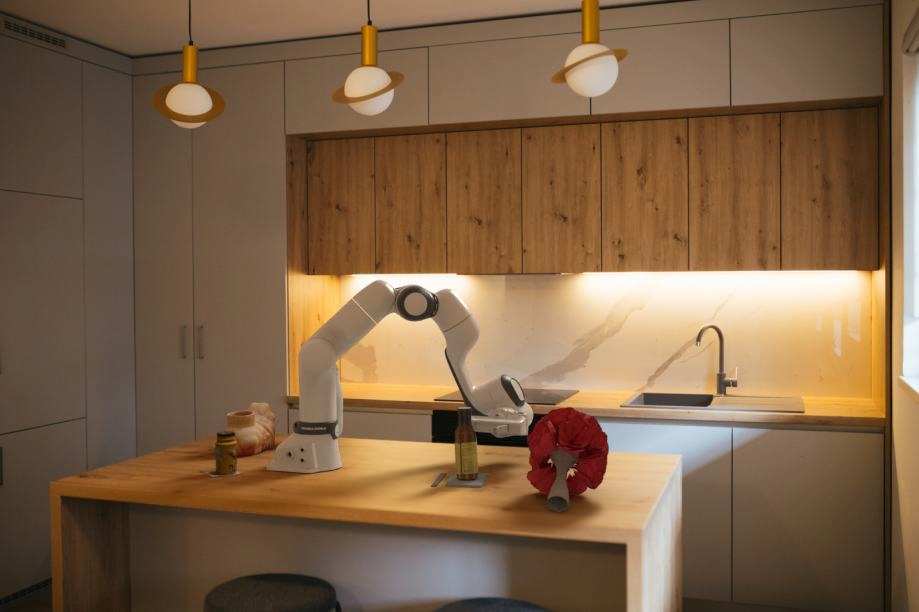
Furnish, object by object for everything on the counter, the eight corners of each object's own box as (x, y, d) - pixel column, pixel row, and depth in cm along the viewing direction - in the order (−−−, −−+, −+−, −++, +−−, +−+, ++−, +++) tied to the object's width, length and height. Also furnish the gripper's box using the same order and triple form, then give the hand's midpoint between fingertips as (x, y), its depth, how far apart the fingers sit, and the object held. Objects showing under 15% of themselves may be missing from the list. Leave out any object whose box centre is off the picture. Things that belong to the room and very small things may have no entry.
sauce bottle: (482, 477, 245) (481, 406, 244) (471, 482, 240) (470, 409, 239) (462, 475, 248) (461, 405, 248) (450, 479, 243) (450, 408, 242)
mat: (445, 486, 237) (445, 484, 237) (453, 474, 252) (453, 472, 252) (481, 487, 236) (481, 485, 236) (488, 475, 250) (488, 473, 250)
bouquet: (609, 537, 212) (614, 455, 237) (598, 463, 200) (605, 385, 225) (522, 537, 217) (536, 457, 242) (506, 465, 206) (522, 389, 231)
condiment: (241, 474, 254) (241, 433, 254) (212, 477, 250) (212, 435, 250) (233, 469, 261) (232, 429, 260) (204, 473, 256) (204, 432, 256)
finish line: (431, 486, 237) (431, 485, 237) (441, 473, 253) (441, 472, 253) (436, 486, 237) (436, 485, 237) (446, 473, 253) (446, 472, 253)
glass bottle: (307, 441, 306) (307, 361, 305) (330, 437, 313) (330, 359, 313) (325, 445, 299) (324, 363, 298) (348, 441, 307) (348, 361, 306)
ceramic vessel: (286, 444, 302) (285, 400, 302) (252, 458, 277) (251, 411, 276) (249, 442, 305) (248, 399, 305) (212, 457, 280) (211, 410, 279)
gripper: (471, 409, 267) (448, 415, 255) (532, 413, 257) (512, 420, 245) (471, 430, 268) (449, 437, 255) (532, 435, 258) (512, 442, 246)
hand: (480, 429), depth 250 cm, fingers open, 8 cm apart
